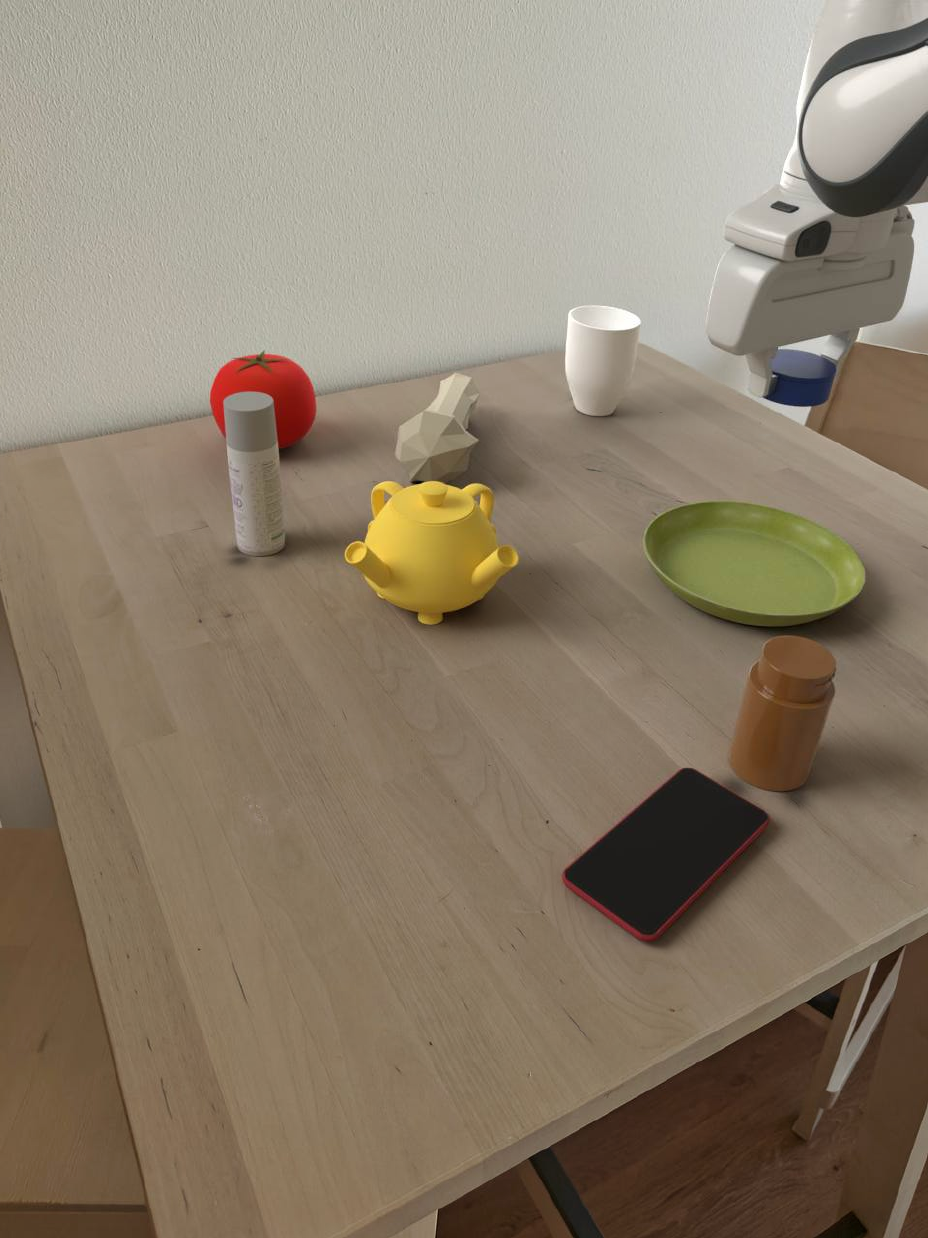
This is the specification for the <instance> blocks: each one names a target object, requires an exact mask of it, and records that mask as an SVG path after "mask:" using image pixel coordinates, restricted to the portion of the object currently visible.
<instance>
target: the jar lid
mask: <svg viewBox="0 0 928 1238" xmlns="http://www.w3.org/2000/svg"><path fill="white" fill-rule="evenodd" d="M770 361H771V367H772V373H774V374H777V375H779V379H778V383H777V385H776V392H775V393H774V394H771V395H768V396H764V397H761V398H762V399H765V400H767V401H769V402H771V403H775V404H779V405H783V406H788V407H799V408H807V407H808V408H810V407H816V406H817V407H818V406H820V405H823V404H825V403H827V402H828V401H829V399H830V396H831V392H832V388H833V384H834V381H835V378H836V377H835V374H836V366H835V365H834V364H833V363H832V362H831V361H829V360H828V359H826V358H824V357H822V356H819V354H816V353H812V352H809V351H804V350H799V349H789V348H778V350H777V355H776V357H775V358H774V359H770Z"/></svg>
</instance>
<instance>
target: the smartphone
mask: <svg viewBox="0 0 928 1238" xmlns="http://www.w3.org/2000/svg"><path fill="white" fill-rule="evenodd" d="M769 824H770V816H769V813H767V811H766V810H764V809H762V808H761V807H760V806H758V805H757V804H754V803H753V802H751V801H749V800H748V799H746V798H745V797H743V796H741V795H739V794H738V793H736V792H734V791H733V790H731V789H729V788H728V787H726V786H724V785H722V784H721V783H719V782H718V781H716V780H714V779H712V778H710V777H709V776H707V775H705V774H704V773H702V772H700V771H699V770H698V769H695V768H693V767H682V768H680V769H678V770H677V771H676V772H675V773H674V774H673V775H672V776H670V777H669V778H668V779H667V780H666V781H664V783H662V784H661V785H660V786H659V787H658V788H657V789H655V790H654V791H653V792H652V793H651V794H649V796H647V797H646V798H645V799H644V800H642V801H641V803H639V804H638V805H637V806H635V808H634V809H632V810H631V811H630V812H629V813H628V814H626V816H624V817H623V818H621V820H620V821H618V822H617V823H616V824H615V825H614V826H613V827H611V828H610V829H609V830H608V831H607V832H606V833H604V834H603V835H601V837H600V838H599V839H597V841H595V842H594V843H593V844H592V845H591V846H589V847H588V848H587V849H586V850H585V851H584V852H582V853H581V854H580V855H579V856H578V857H577V858H575V859H574V860H573V861H572V862H571V863H570V864H568V866H567V867H565V868H564V869H563V871H562V874H561V880H562V883H563V885H564V886H565V887H566V888H567V889H568V890H570V891H571V892H572V893H574V894H575V895H577V896H578V897H580V898H581V899H582V900H584V901H585V902H586V903H588V904H589V905H590V906H592V907H593V908H594V909H596V910H597V911H598V912H600V913H601V914H603V915H604V916H605V917H607V918H608V919H609V920H611V921H612V922H614V923H615V924H616V925H618V926H619V927H621V928H622V929H623V930H625V931H626V932H627V933H629V934H630V935H631V936H632V937H634V938H636V939H637V940H638V941H641V942H644V943H650V942H653V941H655V940H657V939H658V938H659V937H660V936H661V935H662V934H663V933H664V932H665V931H666V930H667V929H668V928H669V927H670V926H671V925H672V924H673V923H674V922H675V920H677V918H679V917H680V915H682V913H683V912H684V911H686V909H687V908H688V907H690V905H691V904H693V902H694V901H695V900H696V899H697V898H698V897H699V896H700V895H701V894H702V893H703V892H704V891H705V890H706V889H707V888H708V887H709V886H710V885H711V884H712V883H713V882H714V881H715V880H716V879H717V878H718V877H719V876H720V875H721V874H722V873H723V872H724V871H725V870H726V869H727V868H728V867H729V866H730V865H731V864H732V863H733V862H734V861H735V860H736V859H737V858H738V857H739V856H740V855H741V854H742V853H743V852H744V851H745V850H746V849H747V847H748V846H749V845H751V843H752V842H753V841H754V840H756V838H757V837H758V836H759V835H760V834H761V833H762V832H763V831H764V830H765V829H766V828H767V827H768V826H769Z"/></svg>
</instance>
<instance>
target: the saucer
mask: <svg viewBox="0 0 928 1238" xmlns="http://www.w3.org/2000/svg"><path fill="white" fill-rule="evenodd" d="M642 544H643V550H644V553H645V555H646V557H647V560H648V562H649V564H650V566H651V567H652V569H653V571H654V573H656V575H657V576H658V578H659V579H660V580H661V581H662V583H664V585H666V586H667V588H668V589H670V591H672V592H673V593H674V594H675V595H677V597H679V598H680V599H681V600H683V601H685V602H686V603H688V604H689V605H691V606H692V607H694V608H696V609H699V610H701V611H702V612H705V613H707V614H709V615H712V616H714V617H718V618H720V619H723V620H726V621H731V622H734V623H738V624H744V625H750V626H756V627H790V626H798V625H802V624H806V623H811V622H813V621H817V620H819V619H823V618H825V617H827V616H830V615H832V614H834V613H835V612H837V611H839V610H841V609H843V608H844V607H845V606H847V605H848V604H850V603H851V602H852V601H853V600H854V599H855V598H856V597H857V596H859V594H860V593H861V592H862V590H863V588H864V585H865V583H866V569H865V565H864V563H863V561H862V560H861V557H860V556H859V555H858V554H857V552H856V551H855V550H854V548H853V547H852V546H851V545H849V543H848V542H847V541H846V540H844V538H842V537H840V536H839V535H838V534H836V533H835V532H833V531H832V530H830V529H829V528H827V527H825V526H823V525H822V524H820V523H817V522H815V521H813V520H811V519H809V518H807V517H804V516H802V515H799V514H796V513H793V512H790V511H786V510H783V509H780V508H776V507H772V506H768V505H764V504H759V503H758V504H757V503H752V502H745V501H736V500H735V501H733V500H708V501H698V502H691V503H687V504H686V503H685V504H682V505H678V506H675V507H672V508H669V509H667V510H665V511H663V512H661V513H660V514H658V515H657V516H656V517H654V518H653V519H652V520H651V521H650V522H649V523H648V525H647V526H646V528H645V530H644V532H643V538H642Z"/></svg>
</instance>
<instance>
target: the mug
mask: <svg viewBox="0 0 928 1238" xmlns="http://www.w3.org/2000/svg"><path fill="white" fill-rule="evenodd" d="M567 315H568V318H567V329H566V331H567V332H566V342H565V343H566V344H565V356H564V357H565V359H564V360H565V361H564V364H565V365H564V370H565V376H566V377H565V378H566V380H567V384H568V389H569V391H570V394H571V397H572V401H573V404H574V407H575V409H576V410H577V411H578V412H580V413H581V414H584V415H587V416H592V417H606V416H610V415H612V414H613V413H614V412H615V410H616V408H617V407H618V405H619V403H620V402H621V400H622V398H623V397H624V395H625V393H626V391H627V390H628V388H629V387H630V385H631V382H632V380H633V378H634V377H633V376H634V372H635V367H636V360H637V353H638V346H639V339H640V338H639V337H640V330H641V318H639V317H638V316H637V315H636V314H634V313H633V312H630V311H628V310H625V309H621V308H618V307H614V306H607V305H582V306H577V307H575V308H573V309H571V310H569V312H568V314H567Z"/></svg>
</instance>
